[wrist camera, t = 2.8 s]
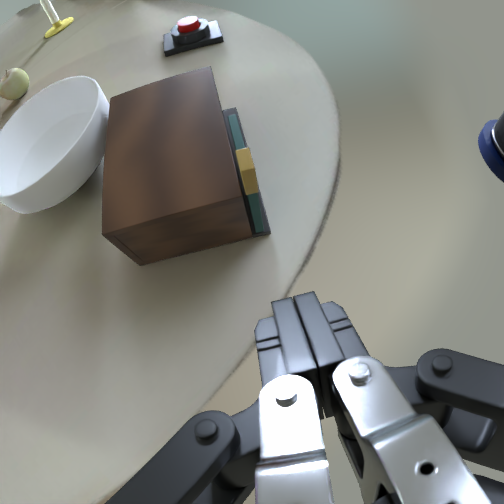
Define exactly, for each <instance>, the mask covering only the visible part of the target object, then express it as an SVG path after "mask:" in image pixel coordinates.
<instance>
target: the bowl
mask: <svg viewBox="0 0 504 504" xmlns="http://www.w3.org/2000/svg"><path fill="white" fill-rule="evenodd" d="M109 107H110V106H109V103H108V101H107V99H106V97H105V95H104V93H103V92H102V90H101V88H100V86H99V84H98V83H97V82H96V81H95V80H94V79H92V78H90V77H86V76H74V77H69V78H65V79H63V80H60V81H57V82H55V83H53V84H51V85H49V86H47V87H46V88H44V89H42V90H41V91H39V92H38V93H36V94H35V95H34V96H33V97H31V98H30V99H29V100H28V101H26V102H25V103H24V104H23V105H22V106H21V107H20V108H19V109H18V110H17V111H16V112H15V113H14V114H13V115H12V117H11V118H10V119H9V120H8V121H7V123H6V124H5V125H4V127H3V128H2V129H1V131H0V202H1V203H3V204H4V205H6V206H8V207H9V208H11V209H13V210H14V211H16V212H18V213H24V214H28V213H35V212H38V211H41V210H43V209H47V208H50V207H52V206H55V205H57V204H58V203H60V202H62V201H64V200H65V199H67V198H68V197H69V196H71V195H72V194H73V193H75V192H76V191H77V190H78V189H79V188H80V187H81V186H82V185H83V184H84V183H85V182H86V181H87V179H88V178H89V177H90V176H91V175H92V173H93V172H94V171H95V169H96V168H97V166H98V165H99V163H100V162H101V159H102V158H103V156H104V154H105V144H106V133H107V124H108V115H109Z"/></svg>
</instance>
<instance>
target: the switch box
mask: <svg viewBox="0 0 504 504" xmlns="http://www.w3.org/2000/svg"><path fill="white" fill-rule="evenodd" d="M198 21H199V25H200V27H199V28H198V29H196V30H194V31H191V32H187V33H180V32H179V29H178V25H175V26H174V27H173V28H172V29H171V33H167V34H164V53H165V56H166V57H167V56H170V55H173V54H177V53H180V52H184V51H187V50H191V49H195V48H198V47H202V46H206V45H210V44H215V43H219V42H223V37H222V34H221V31H220V28H219V25H218V22H217V21H212V22H208V21H207V20H205V19H202V18H198Z"/></svg>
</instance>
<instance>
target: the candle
mask: <svg viewBox="0 0 504 504" xmlns="http://www.w3.org/2000/svg"><path fill="white" fill-rule="evenodd" d="M39 1H40V3H41V5H42V7H43V8H44V10H45V12H46V14H47V16H48V17H49V19H50V21H51V23H52V25H53V27H52V28H50V29H49V30H48V31H47V32H46V34H45V38H48V37H51V36H53V35H55V34H57V33H58V32H60V31H62V30H63V29H64V28H66V27H67V26H68V25H69V24H70V23H72V21H73V20H74V19H73V17H70V18H67V19H64V20H62V21H60V19H59V18H58V16H57V14H56V12H55V10H54V8H53V6H52V5H51V3H50V1H49V0H39Z"/></svg>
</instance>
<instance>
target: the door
mask: <svg viewBox="0 0 504 504" xmlns="http://www.w3.org/2000/svg"><path fill="white" fill-rule="evenodd" d="M228 121H229V125H230V129H231V133H232V137H233V142H234V146H235V150H236V151H235V152H236V156H237V160H238V164H239V168H240V172H241V177H242V181H243V185H244V189H245V193H246V195H247V198H248V202H249V206H250V210H251V214H252V218H253V222H254V227H255V231H256V233H258V232H262V231H264V227H263V221H262V215H261V209H260V204H259V198H258V192H259V190H258V184H257V178H256V172H255V167H254V163H253V160H252V156H251V153H250V149H249V147H247V148H245V145H244V141H243V138H242V134H241V130H240V127H239V123H238V120H237V116H236V114H234V115H230V116H228Z"/></svg>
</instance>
